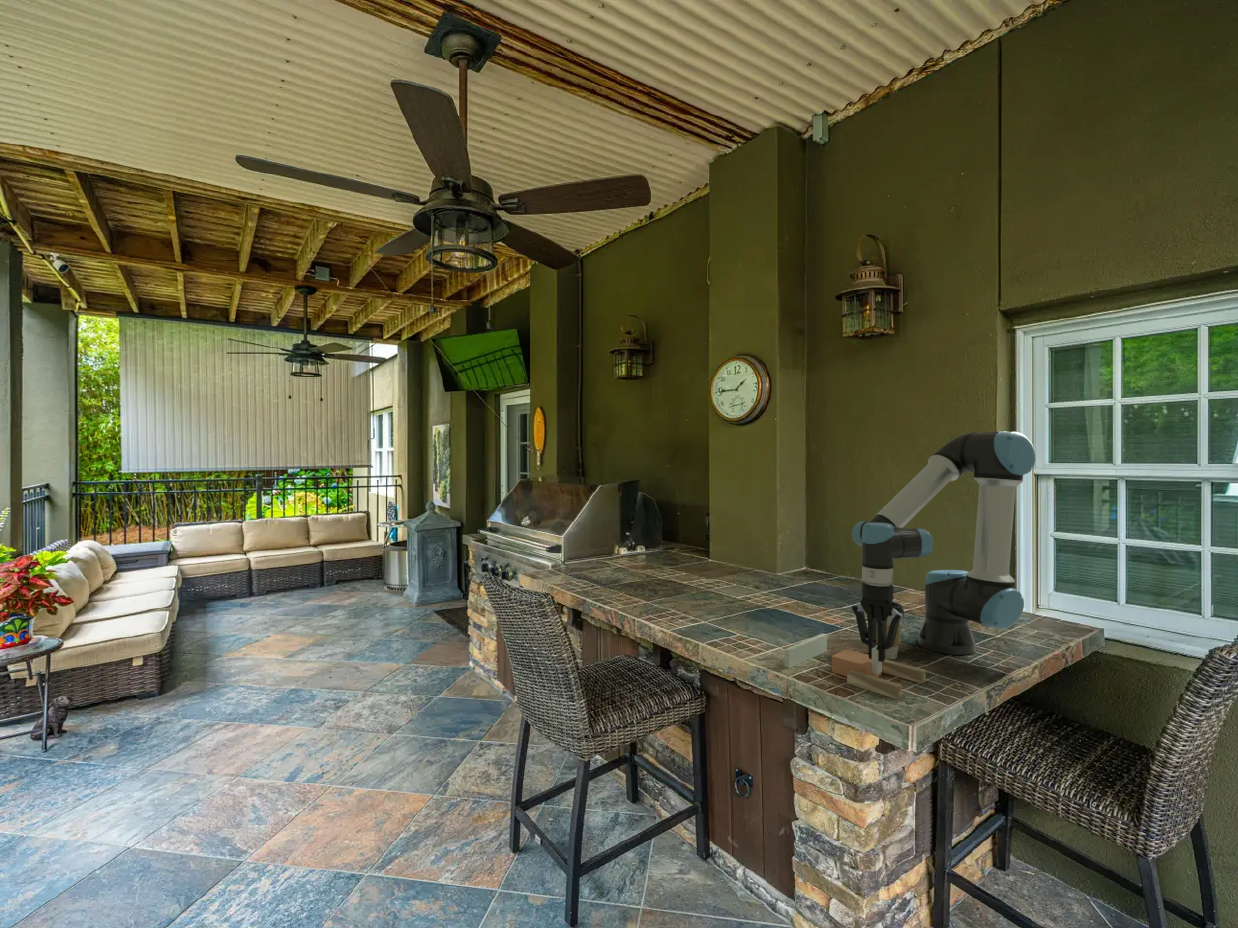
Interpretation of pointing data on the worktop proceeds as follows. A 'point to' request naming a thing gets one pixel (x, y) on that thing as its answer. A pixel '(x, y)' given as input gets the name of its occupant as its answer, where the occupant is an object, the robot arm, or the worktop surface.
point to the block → (852, 663)
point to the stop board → (805, 650)
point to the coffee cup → (892, 651)
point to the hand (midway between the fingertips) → (876, 672)
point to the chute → (884, 685)
